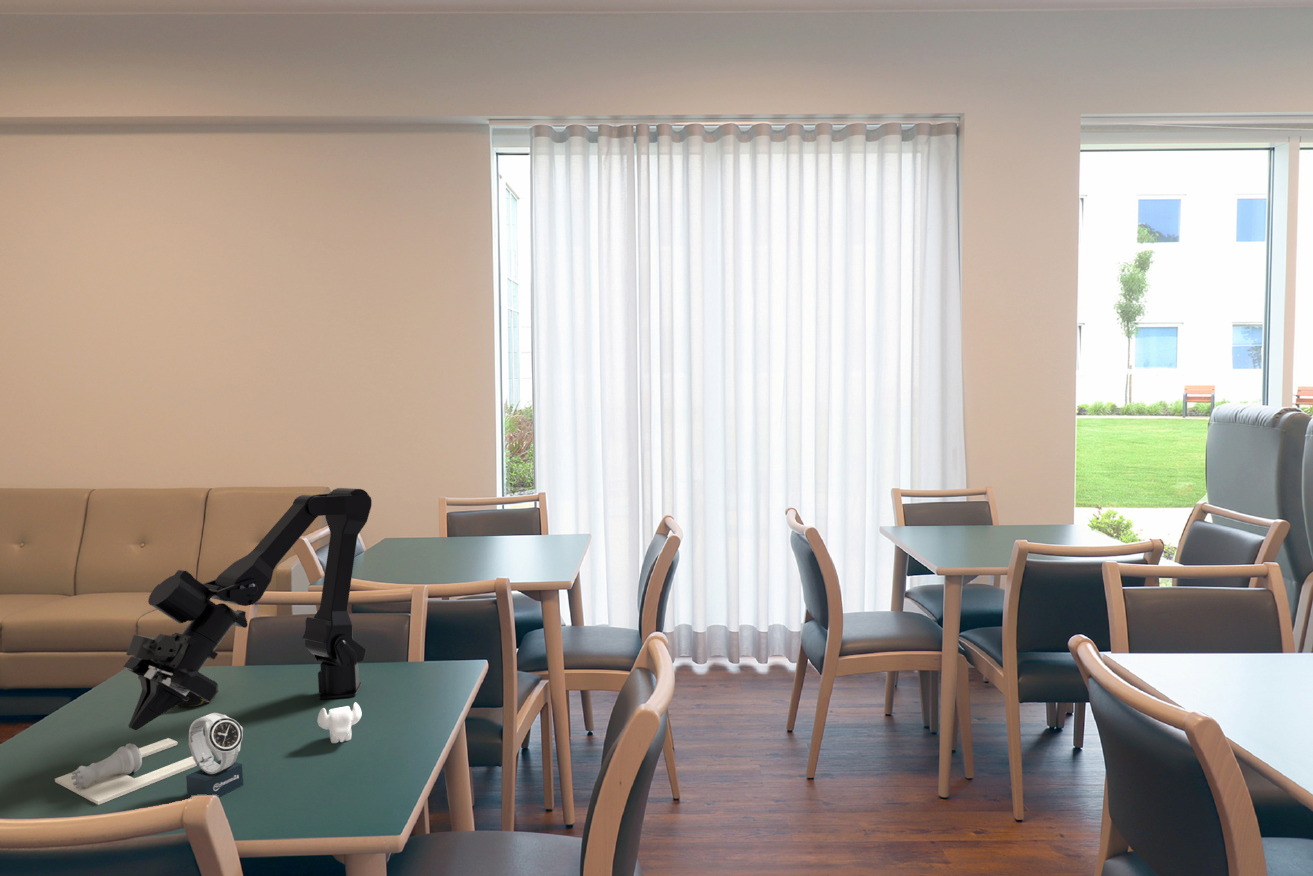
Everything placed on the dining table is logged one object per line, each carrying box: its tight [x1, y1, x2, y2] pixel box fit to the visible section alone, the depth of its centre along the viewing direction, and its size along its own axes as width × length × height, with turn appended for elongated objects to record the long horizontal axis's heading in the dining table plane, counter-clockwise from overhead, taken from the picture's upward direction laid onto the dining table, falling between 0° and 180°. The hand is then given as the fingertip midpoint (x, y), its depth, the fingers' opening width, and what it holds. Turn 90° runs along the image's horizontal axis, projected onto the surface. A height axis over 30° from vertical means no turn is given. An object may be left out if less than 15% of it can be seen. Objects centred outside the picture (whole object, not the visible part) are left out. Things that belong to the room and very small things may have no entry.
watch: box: [185, 712, 244, 798], centre depth 112 cm, size 6×8×11 cm
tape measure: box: [177, 679, 216, 708], centre depth 147 cm, size 7×7×4 cm
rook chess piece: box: [71, 742, 143, 788], centre depth 116 cm, size 4×4×8 cm
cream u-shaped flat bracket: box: [54, 737, 215, 806], centre depth 120 cm, size 16×14×1 cm
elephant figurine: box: [317, 702, 363, 744], centre depth 128 cm, size 7×8×6 cm
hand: (132, 728), depth 119 cm, fingers closed
